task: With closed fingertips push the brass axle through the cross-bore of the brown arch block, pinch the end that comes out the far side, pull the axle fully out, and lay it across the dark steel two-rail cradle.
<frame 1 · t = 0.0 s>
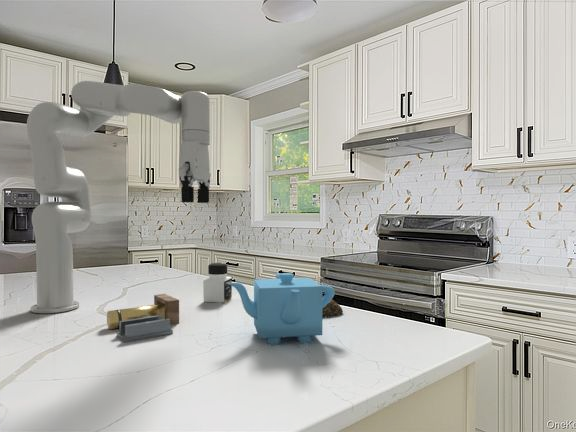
hand: (195, 202, 117), 31 cm above the counter, tool pointing down, fingers open, 9 cm apart
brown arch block: (166, 319, 115), on the counter
axle: (137, 324, 110), on the counter
cradle: (145, 334, 101), on the counter
bread roll: (320, 313, 123), on the counter
teakettle: (282, 338, 99), on the counter
medicine bottle: (217, 300, 139), on the counter
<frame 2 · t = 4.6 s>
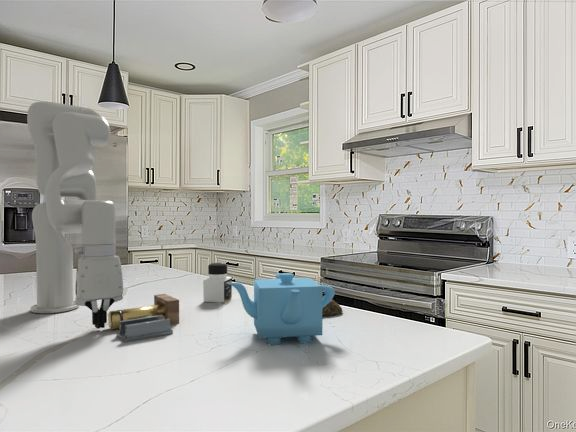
hand: (99, 326, 104), 1 cm above the counter, tool pointing down, fingers closed
axle: (138, 324, 110), on the counter, tilted 16°, touching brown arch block, gripper
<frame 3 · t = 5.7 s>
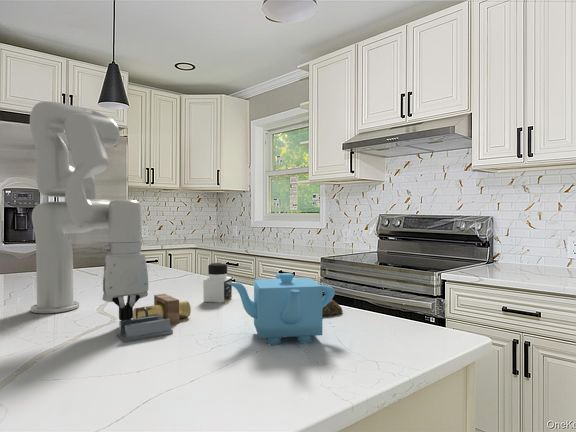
hand: (125, 322, 108), 1 cm above the counter, tool pointing down, fingers closed
axle: (161, 320, 114), on the counter, tilted 16°, touching gripper
everything else where it was.
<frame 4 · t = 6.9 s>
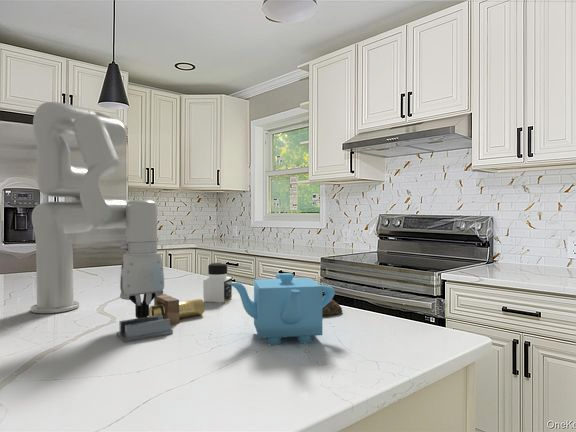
hand: (142, 319, 111), 1 cm above the counter, tool pointing down, fingers closed
axle: (176, 317, 116), on the counter, tilted 16°, touching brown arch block, gripper
everything else where it was.
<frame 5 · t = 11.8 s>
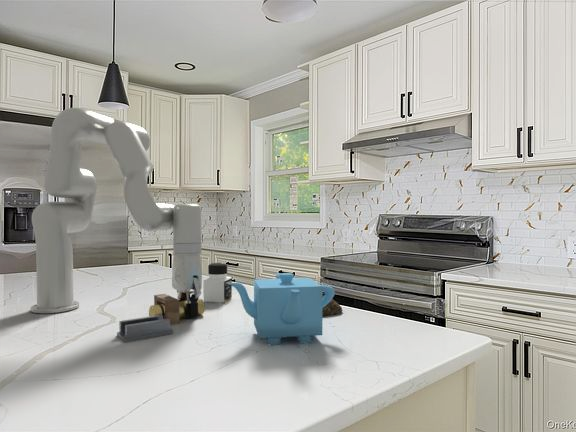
hand: (187, 314, 118), 0 cm above the counter, tool pointing down, fingers closed on axle, 4 cm apart
axle: (176, 317, 117), on the counter, tilted 14°, touching gripper
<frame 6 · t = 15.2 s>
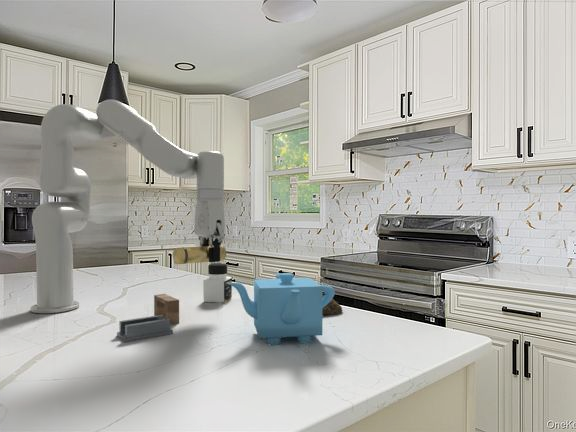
hand: (210, 260, 121), 15 cm above the counter, tool pointing down, fingers closed on axle, 4 cm apart
axle: (199, 262, 120), point 15 cm above the counter, tilted 14°, touching gripper
when the fingers open (4 cm above the counter, at t = 18.6 s): axle drops 1 cm, resting on cradle.
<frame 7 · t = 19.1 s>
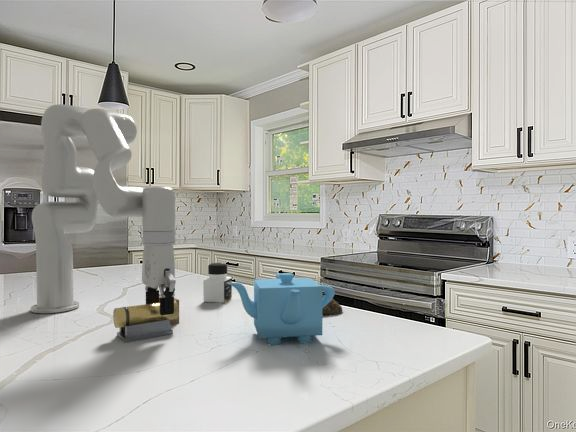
hand: (159, 310, 103), 5 cm above the counter, tool pointing down, fingers open, 9 cm apart
axle: (145, 321, 102), point 3 cm above the counter, tilted 21°, touching cradle
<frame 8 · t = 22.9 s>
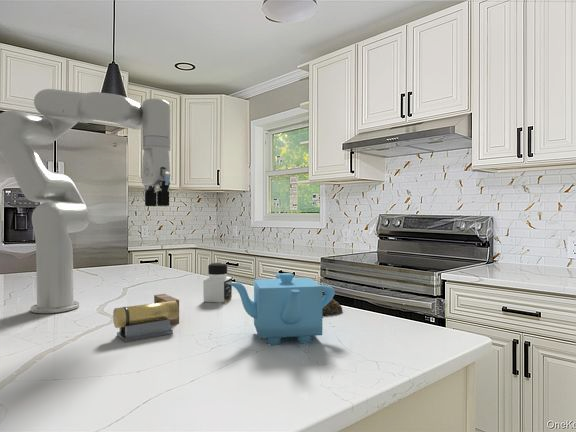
hand: (156, 206, 121), 30 cm above the counter, tool pointing down, fingers open, 9 cm apart
at the end: axle inside the target area on the cradle (0.9 cm from its centre), point 2.8 cm above the cradle's base; axle touching cradle; the gripper is holding nothing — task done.
